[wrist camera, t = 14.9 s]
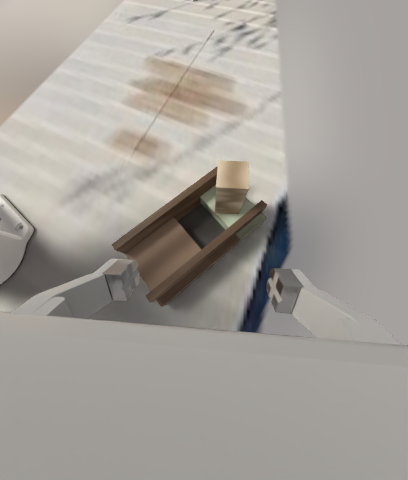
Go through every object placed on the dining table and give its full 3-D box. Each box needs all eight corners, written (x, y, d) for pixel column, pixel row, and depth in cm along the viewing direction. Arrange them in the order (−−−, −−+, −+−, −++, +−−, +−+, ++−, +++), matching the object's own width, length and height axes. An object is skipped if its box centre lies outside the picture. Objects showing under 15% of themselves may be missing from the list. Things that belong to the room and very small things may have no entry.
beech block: (214, 212, 29) (215, 187, 22) (216, 191, 30) (218, 160, 23) (238, 214, 29) (248, 188, 21) (239, 192, 30) (249, 161, 22)
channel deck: (126, 247, 31) (107, 238, 26) (216, 179, 35) (217, 158, 29) (166, 304, 28) (155, 309, 22) (261, 223, 31) (272, 210, 26)
